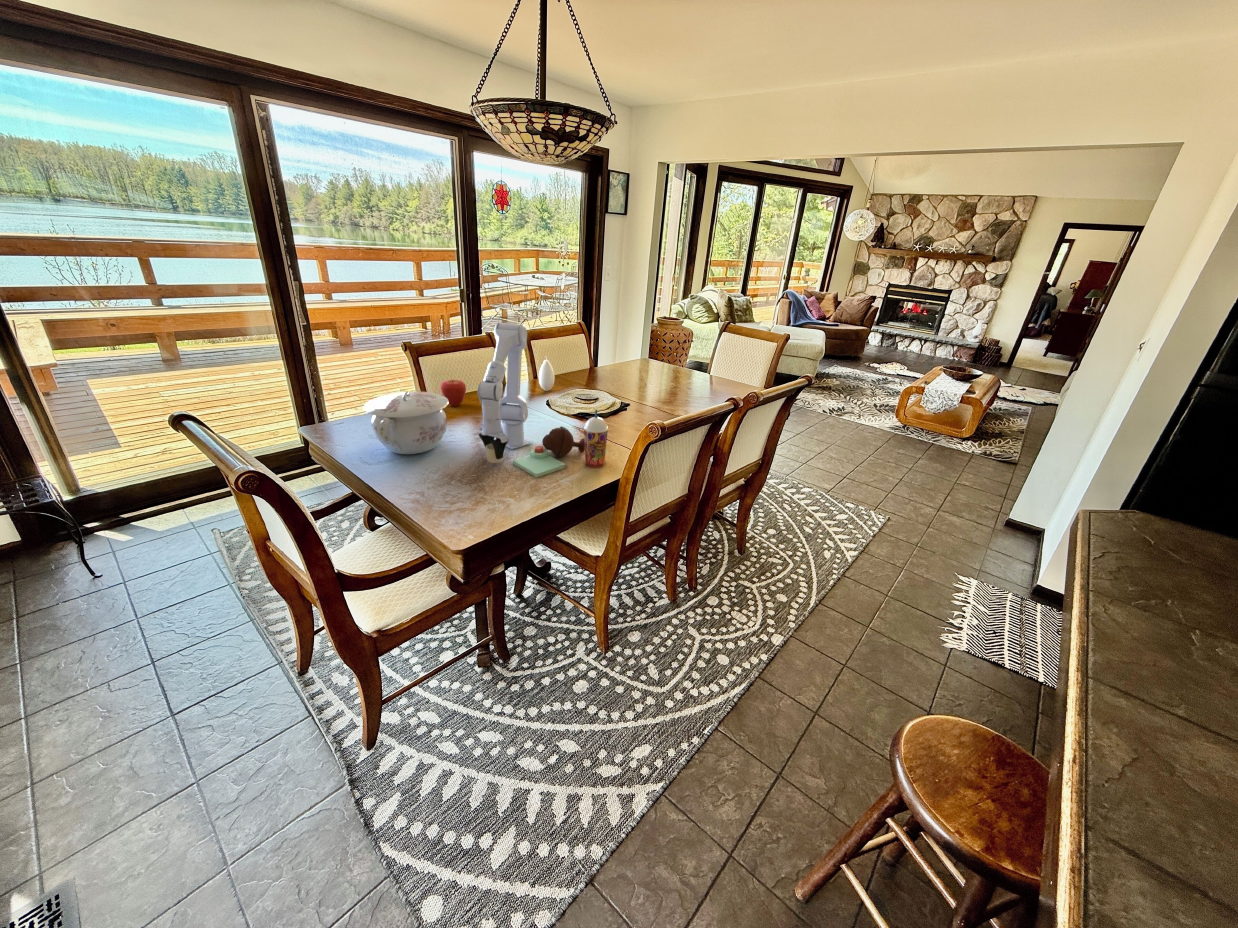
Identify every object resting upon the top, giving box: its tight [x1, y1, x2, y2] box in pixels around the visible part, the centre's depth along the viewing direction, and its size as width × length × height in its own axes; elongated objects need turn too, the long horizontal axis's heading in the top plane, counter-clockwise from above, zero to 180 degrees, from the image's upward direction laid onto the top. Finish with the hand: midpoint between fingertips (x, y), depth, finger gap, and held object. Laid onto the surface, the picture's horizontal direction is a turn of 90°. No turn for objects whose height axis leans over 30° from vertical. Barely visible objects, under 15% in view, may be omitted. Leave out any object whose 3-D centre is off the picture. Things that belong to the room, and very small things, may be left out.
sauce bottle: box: [538, 355, 556, 392], centre depth 240 cm, size 8×8×18 cm
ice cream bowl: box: [541, 425, 585, 458], centre depth 172 cm, size 11×11×15 cm
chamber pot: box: [363, 390, 449, 455], centre depth 170 cm, size 28×28×21 cm
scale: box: [512, 447, 566, 479], centre depth 165 cm, size 14×12×3 cm
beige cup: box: [485, 443, 504, 464], centre depth 163 cm, size 6×6×5 cm
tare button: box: [534, 445, 544, 453], centre depth 169 cm, size 3×3×2 cm
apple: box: [439, 379, 467, 407], centre depth 215 cm, size 11×11×12 cm
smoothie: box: [583, 409, 609, 468], centre depth 164 cm, size 8×8×20 cm
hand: (494, 455), depth 163 cm, fingers closed on beige cup, 5 cm apart
